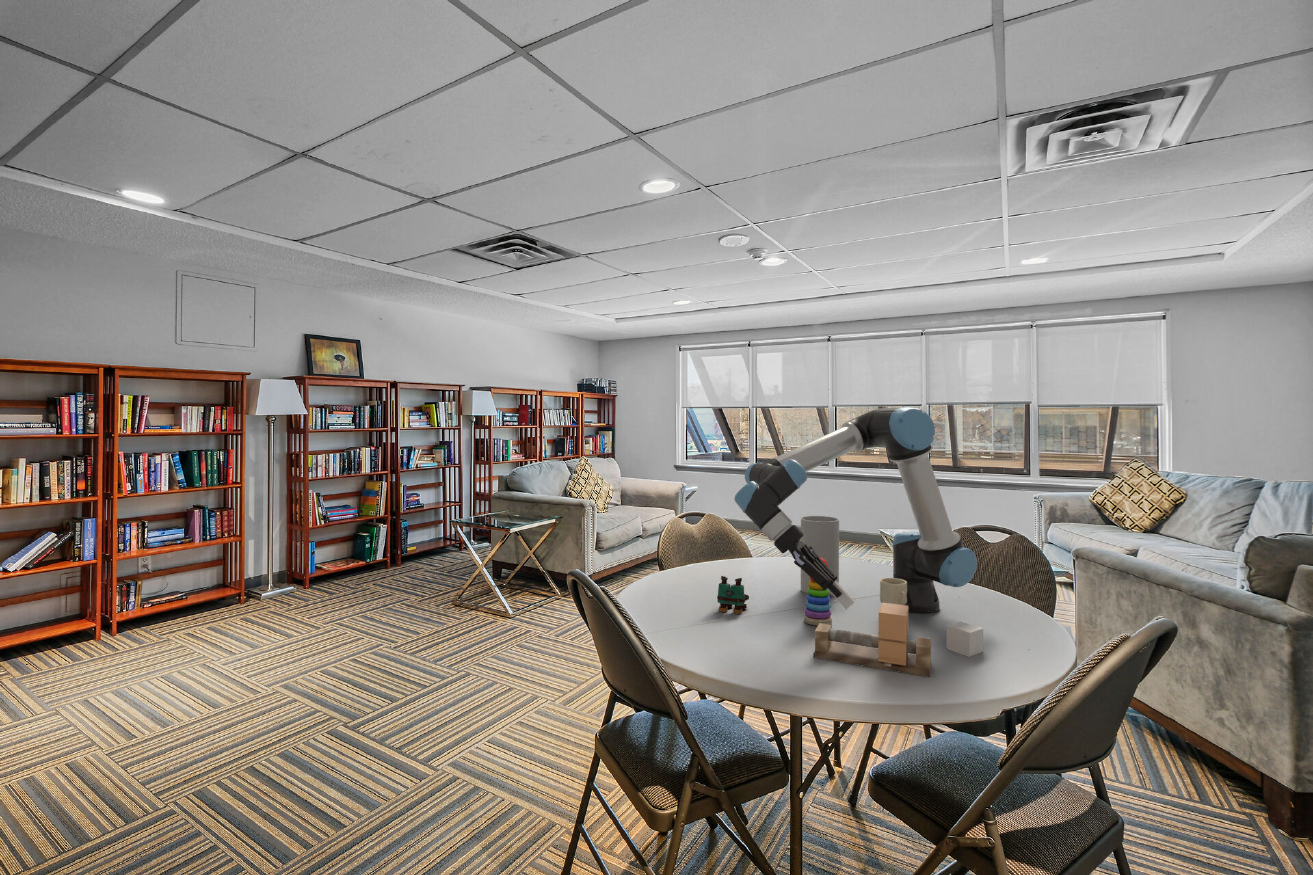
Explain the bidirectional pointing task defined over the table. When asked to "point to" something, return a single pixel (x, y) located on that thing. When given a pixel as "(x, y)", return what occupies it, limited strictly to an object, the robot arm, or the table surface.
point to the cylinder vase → (821, 543)
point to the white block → (965, 638)
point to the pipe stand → (869, 650)
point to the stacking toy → (817, 604)
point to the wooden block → (893, 634)
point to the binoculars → (731, 596)
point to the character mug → (893, 591)
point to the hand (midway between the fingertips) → (850, 605)
